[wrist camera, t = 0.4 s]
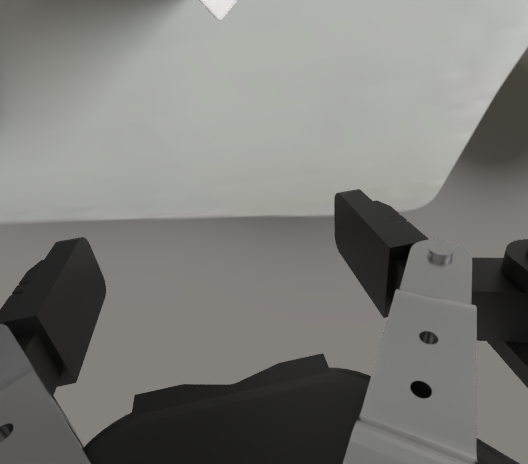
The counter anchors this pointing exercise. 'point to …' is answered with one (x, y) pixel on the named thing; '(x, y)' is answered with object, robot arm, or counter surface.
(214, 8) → the milk
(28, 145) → the counter surface
